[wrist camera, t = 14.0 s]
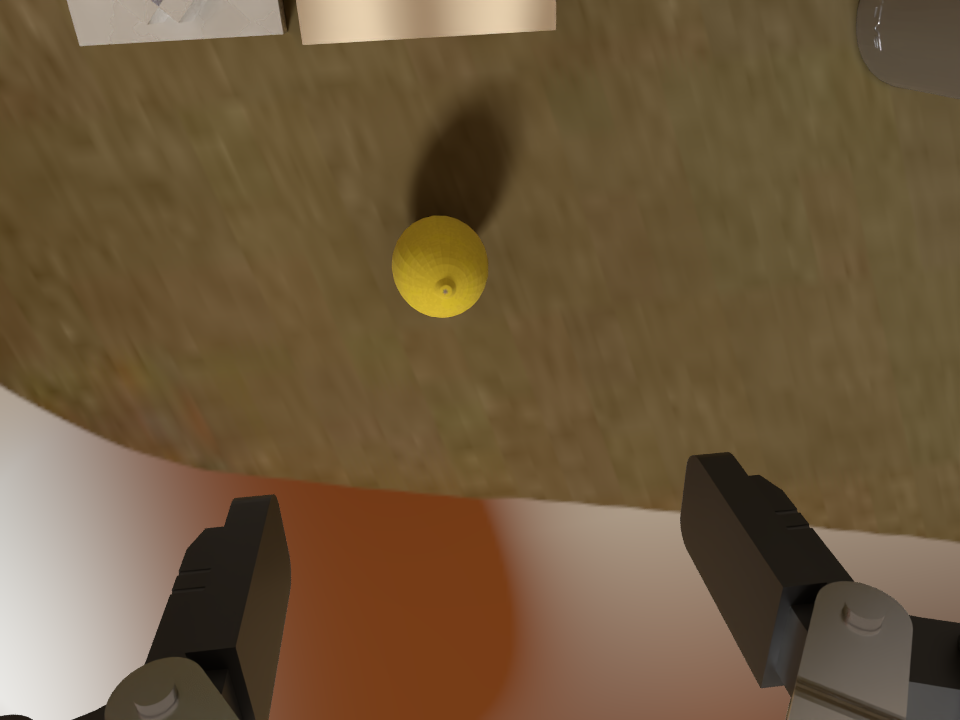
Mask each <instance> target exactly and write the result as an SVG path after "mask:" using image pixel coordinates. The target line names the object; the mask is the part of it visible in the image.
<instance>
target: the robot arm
mask: <svg viewBox="0 0 960 720" xmlns="http://www.w3.org/2000/svg"><path fill="white" fill-rule="evenodd" d="M856 32H857V42H858V47H859V50H860V53H861V56H862V59H863V60H864V62H865V63H866V65H867V67H868V68H869V70H870V71H871V72H872V73H873V74H874V75H875V76H876V77H878V78H879V79H880V80H881V81H883V82H885V83H887V84H890V85H892V86H895V87H900V88H905V89H910V90H916V91H921V92H926V93H931V94H936V95H941V96H945V97H951V98H956V99H960V0H860V2H859V6H858V11H857V22H856ZM680 521H681V522H680V524H681V532H682V537H683V540H684V544H685V547H686V549H687V551H688V553H689V555H690V556H691V558H692V560H693V562H694V564H695V566H696V568H697V570H698V571H699V573H700V575H701V577H702V579H703V581H704V583H705V585H706V586H707V588H708V590H709V592H710V594H711V596H712V598H713V599H714V602H715V603H716V605H717V607H718V609H719V611H720V613H721V615H722V616H723V618H724V620H725V622H726V624H727V626H728V628H729V630H730V631H731V633H732V635H733V637H734V639H735V641H736V643H737V645H738V647H739V648H740V650H741V652H742V654H743V656H744V658H745V660H746V662H747V663H748V665H749V667H750V669H751V671H752V673H753V675H754V677H755V678H756V680H757V682H758V684H759V686H760V688H766V687H775V686H783V685H784V686H785V688H786V690H787V691H788V693H789V695H790V697H791V699H790V703H789V707H788V711H787V715H786V720H960V623H956V622H948V621H942V620H935V619H928V618H921V617H916V616H910V615H908V613H907V612H906V610H905V609H904V608H903V607H902V606H901V605H900V604H899V603H898V602H897V601H896V600H895V599H893V598H892V597H891V596H889V595H888V594H886V593H884V592H883V591H880V590H878V589H877V588H874V587H871V586H869V585H866V584H862V583H858V582H854V581H853V579H852V578H851V577H850V576H849V574H848V573H847V572H846V571H845V569H844V568H843V567H842V565H841V564H840V563H839V561H837V559H836V558H835V556H834V555H833V554H832V553H831V551H830V550H829V549H828V548H827V547H826V545H825V544H824V542H823V541H822V540H821V539H820V537H819V536H818V535H817V534H816V532H815V531H814V530H813V528H810V527H809V523H808V522H807V521H806V520H805V518H804V517H803V516H802V515H801V513H798V512H797V508H796V507H795V506H794V504H793V503H792V502H791V501H790V499H789V498H788V497H787V495H786V494H785V493H784V492H783V490H781V489H780V488H778V487H777V486H775V485H774V484H772V483H771V482H769V481H768V480H766V479H765V478H763V477H762V476H760V475H753V476H748V475H747V473H746V472H745V471H744V469H743V468H742V467H741V465H740V464H739V462H738V461H737V460H736V458H735V457H734V456H733V455H732V454H731V453H729V452H724V453H713V454H703V455H692V456H690V457H689V459H688V462H687V467H686V475H685V483H684V491H683V500H682V508H681V517H680ZM290 586H291V565H290V556H289V551H288V546H287V542H286V537H285V532H284V527H283V523H282V518H281V513H280V508H279V503H278V500H277V497H276V496H275V495H274V494H273V495H263V496H252V497H242V498H234V499H233V501H232V503H231V506H230V510H229V513H228V516H227V519H226V522H225V525H224V527H216V528H207V529H205V530H204V531H203V532H202V533H201V534H200V535H199V536H198V538H197V539H196V540H195V541H194V542H193V543H192V544H191V545H190V546H189V547H188V549H187V550H186V553H185V556H184V559H183V561H182V564H181V567H180V569H179V576H177V578H176V580H175V583H174V586H173V588H172V594H171V595H170V597H169V599H168V602H167V605H166V608H165V610H164V613H163V616H162V619H161V621H160V624H159V627H158V629H157V632H156V635H155V638H154V640H153V643H152V646H151V649H150V651H149V654H148V657H147V660H146V662H145V664H144V665H143V666H142V667H140V668H138V669H136V670H135V671H133V672H132V673H130V674H129V675H128V676H127V677H126V678H124V679H123V680H122V682H120V684H119V685H118V686H117V687H116V688H115V690H114V691H113V692H112V694H111V696H110V697H109V699H108V702H107V704H106V705H105V706H103V707H101V708H99V709H97V710H95V711H93V712H90V713H88V714H86V715H83V716H80V717H78V718H75V719H73V720H268V719H269V713H270V707H271V701H272V695H273V688H274V683H275V677H276V671H277V665H278V659H279V653H280V647H281V641H282V635H283V629H284V623H285V618H286V612H287V605H288V599H289V594H290ZM0 720H32V719H31V718H29V717H26V716H22V715H4V716H0Z"/></svg>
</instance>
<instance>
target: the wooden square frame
mask: <svg viewBox="0 0 960 720" xmlns="http://www.w3.org/2000/svg"><path fill="white" fill-rule="evenodd" d="M296 3H297V10H298V16H299V23H300V30H301V37H302V43H303V45H309V44H326V43H343V42H360V41H377V40H394V39H411V38H428V37H444V36H461V35H478V34H495V33H512V32H529V31H546V30H556V0H296Z"/></svg>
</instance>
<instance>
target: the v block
mask: <svg viewBox="0 0 960 720" xmlns="http://www.w3.org/2000/svg"><path fill="white" fill-rule="evenodd" d="M67 2H68V6H69V9H70V13H71V17H72V20H73V24H74V27H75V31H76V34H77V38H78V41H79V45H80V46H86V45H103V44H121V43H138V42H155V41H173V40H190V39H207V38H225V37H242V36H259V35H277V34H285V33H287V32H288V31H287V25H286V19H285V12H284V6H283V0H67Z"/></svg>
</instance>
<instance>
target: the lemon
mask: <svg viewBox="0 0 960 720" xmlns="http://www.w3.org/2000/svg"><path fill="white" fill-rule="evenodd" d="M392 271H393V276H394V281H395V284H396V286H397V288H398V290H399V292H400V294H401V295H402V297H403V298H404V299H405V300H406V301H407V302H408V304H409V305H410V306H412V307H413V308H415V309H416V310H418V311H419V312H420V313H423V314H426V315H428V316H432V317H440V318H444V317H452V316H455V315H458V314H461V313H462V312H464V311H466V310H467V309H469V308H470V307H471V306H472V305H473V304H474V303H475V302H476V301H477V300H478V299H479V297H480V295H481V293H482V292H483V290H484V288H485V284H486V281H487V277H488V259H487V255H486V251H485V247H484V245H483V244H482V242H481V240H480V238H479V237H478V235H477V234H476V233H475V232H474V231H473V230H472V229H471V228H470V227H469V226H468V225H467V224H465V223H463V222H461V221H460V220H458V219H455V218H452V217H448V216H430V217H426V218H423V219H421V220H419V221H417V222H415V223H413V224H412V225H411V226H409V227H408V228H407V229H406V230H405V231H404V232H403V234H402V235H401V237H400V238H399V240H398V241H397V243H396V246H395V249H394V252H393V258H392Z"/></svg>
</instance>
